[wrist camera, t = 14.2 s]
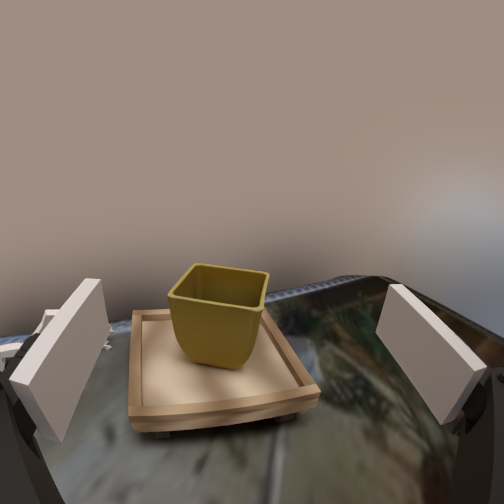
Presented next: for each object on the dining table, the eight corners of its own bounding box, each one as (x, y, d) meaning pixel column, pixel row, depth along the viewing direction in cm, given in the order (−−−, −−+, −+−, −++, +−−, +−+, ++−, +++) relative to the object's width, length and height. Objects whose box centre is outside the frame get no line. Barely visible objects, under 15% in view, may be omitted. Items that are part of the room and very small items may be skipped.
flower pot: (194, 326, 37) (194, 261, 34) (262, 337, 36) (270, 271, 33) (170, 369, 29) (165, 295, 26) (252, 385, 28) (262, 310, 25)
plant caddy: (258, 337, 44) (262, 303, 42) (308, 426, 28) (320, 391, 26) (137, 345, 39) (133, 310, 37) (139, 450, 23) (128, 416, 21)
